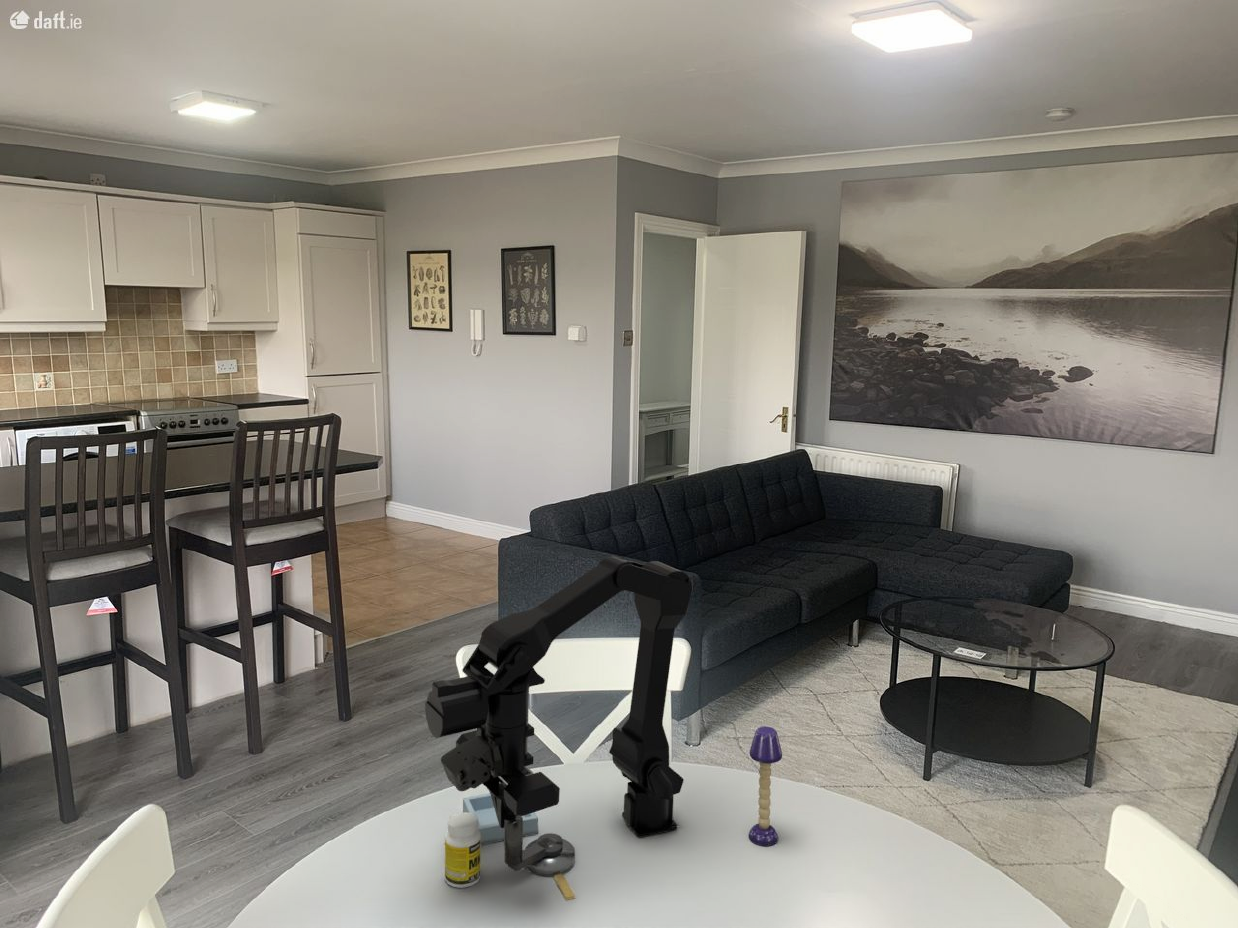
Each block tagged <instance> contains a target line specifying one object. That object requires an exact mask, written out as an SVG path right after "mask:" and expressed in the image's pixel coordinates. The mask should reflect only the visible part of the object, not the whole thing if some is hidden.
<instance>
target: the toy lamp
mask: <svg viewBox="0 0 1238 928" xmlns="http://www.w3.org/2000/svg"><path fill="white" fill-rule="evenodd" d="M749 757H750V758H751V759H752V760H753V761H755V762H758V763H759V766H760V767H759V769H758V774H759V779H758V784H759V788H758V795H759V797H758V801H757V802H758V806H759V807H758V811H757V812H758V816H759V817H758V823H756V824H754V825H753V826H752V827H751V828H750V830H749V834H748V839H749V840H750V842H752V844H755V845H758V846H760V847H768V846H773V845H775V844H777V843H778V841H779V836H778V833H777V830H776V829H775V827H773V826H772V825H771V818H770V816H771V808H770V807H771V798H770V797H771V794H772V793H771V784H772V783H771V782H772V781H771V780H772V779H771V776H772V775H771V774H772V769H771V767H772V764H776V763H777V762H779V761H781V760H782V758H783V752H782V747H781V744H780V738H779V735H778V732H777V730H776V729H775V728H774V727H771V726H764V725H763V726H759V727H758V728H757V729H756V730H755V732H754V736H753V738H752V743H751V746H750V749H749Z"/></svg>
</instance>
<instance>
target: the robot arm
mask: <svg viewBox="0 0 1238 928" xmlns="http://www.w3.org/2000/svg"><path fill="white" fill-rule="evenodd" d="M623 591H627V592H630V593H633V594H634V595H633V597H634V599H633V600H634V604H635V607H636V612H637V615H638V617H639V621H640V629H639V638H638V646H637V653H636V654H637V655H636V662H635V670H634V676H633V677H634V678H633V685H632V693H631V701H630V711H629V716H628V718H627V720H626V721H625V722H624V724H623V725H622V726H621V727H613V729H612V732H611V733H612V743H611V747H610V749H609V751H608V754H610V755H611V756H612V763H613V764H614V766H615V767H616V768H617V769H618V770H619V771H620V772H621V775H622V777H624V778H626V779H627V780H628V782H627V789H626V790H627V793H624V795H623V811H622V812H621V814H622V815H621V816H622V817H623V820H624V821H625V823H626V824H627V825H628V826H629V828H631V830H632V832H633V833H634V834H635V835H636V837H638V838H642V837H647V836H652V835H657V834H662V833H667V832H670V831H675V830H677V829H678V824H677V823H676V821H675V820H674V819H673V818H674V797H675V795H678V794H680V793H681V790H682V786H683V785H684V781H685V779H684V778H683V777H682V776H681V775H680V774H678V773H677V772H676V771H675V770H674V769H672V767H670V745H669V742H668V738H667V735H666V731H665V728H664V725H663V720H664V713H665V706H666V698H667V693H668V692H667V691H668V683H669V675H670V666H671V659H672V651H673V644H674V639H675V638H674V637H675V632H676V631H675V630H676V628H677V627H678V625H680V623H681V622H682V620H683V619H684V617H685V616H686V615H687V613H688V611H689V605H690V602H691V598H692V595H693V580H692V579H690V577H689V575H688V574H687V573H686V572H684V571H682V570H679V569H677V568H675V567H672V566H670V565H668V564H665V563H663V562H660V561H658V560H657V561H656V560H653V561H652V560H651V561H648V562H646V563H644V564H642V563H639V562H636V561H632V560H626V559H622V558H619V557H617V556H616V555H615V556H614V555H609V556H607V557H603V559H601V560H600V562H599V563H598V565H596V566H595V567H593V568H592V569H590V570H589V571H588V572H585V574H583V575H581V576H580V577H578V578H577V579H575V580H574V581H573V582H571V583H570V584H568V585H566V586H565V587H564V588H562V589H561V590H559V591H558V592H556V593H555V594H554V595H551V596H550V597H549V598H548V599H546V600H545V601H543V602H541V603H540V604H538V605H537V606H535V607H533V608H531V609H528V610H525V611H519V612H515V613H514V612H513V613H512V614H509V615H506V616H504V617H502V618H500V619H498V620H494V621H493V622H492V623H489V625H487V626H486V627H485V628H484V629H483V631H482V632H481V634H480V635H481V637H480V639H479V643H478V644H477V646H476V647H475V649H474V650H473V652H472V654H471V656H470V657H469V658H468V660H467V662H466V663H465V665H463V668H462V669H461V670H462V672H463V674H465V675H466V676H463V677H459V678H453V679H449V680H444V679H442V680H438V681H437V680H435V681H433V683H432V684H431V688H432V689H431V691H430V692H428V695H427V698H426V701H425V702H424V712H425V719H426V722H427V726H428V729H429V731H430V733H431V735H432V736H433V737H434V738H436V739H438V738H442V737H443V738H444V737H446V736H451V735H455V734H458V733H459V734H460V733H461V735H460V736H459V737H458V738H457V740H456V741H455V747H454V748H452V749H451V750H449V751H448V752H446V753H444V754H443V755H442V756H441V758H440V762H441V765H442V768H443V770H444V772H445V775H446V777H447V780H448V781H449V782H451V783H452V785H453V786H454V787H455V788H456V790H457V791H458V792H465V791H466V792H467V790H469V789H477V788H478V787H479V786H481V785H483V786H485V787H486V788H487V790H488V792H489V793H490V795H491V798H492V801H493V805H494V808H495V812H496V815H497V819H498V822H499V826H500V827H501V828H504V827H505V818H506V817H507V816H509V815H513V814H516V815H518V816H524V815H527V814H530V813H534V812H535V813H536V812H540V811H542V810H545V809H548V808H551V807H552V808H553V807H555V806H557V805H558V804H559V802H560V793H561V791H560V787H559V786H558V784H556V783H554V782H553V780H552V779H550V777H548V776H546V775H545V774H544V773H543V772H542V771H537V772H533V770H532V769H530V768H529V767H528V766H532V765H534V756H533V755H532V754H531V753H530V752H529V751H528V750H529V749H528V745H529V741H528V739H529V738H530V737H532V736H535V727H534V726H533V725H531V724H530V723H529V711H530V710H529V705H530V687H534V686H540V685H542V684H545V682H546V680H545V678H544V677H542V676H541V675H540V674H539V673H538V672H537V671H536V670H535V666H536V665H537V664H538V663H539V662H540V661H541V660H542V659H543V658H544V657H545V656H546V655H547V653H548V651H549V649H550V647H551V645H552V643H553V642H554V641H555V640H556V639H557V638H559V636H560V635H561V634H563V633H565V632H566V631H568V630H569V629H570V628H572V627H573V626H575V625H576V624H577V623H579V622H580V621H582V620H583V619H585V618H586V617H587V616H589V615H590V614H592V613H593V612H594V611H596V610H598V609H599V608H600V607H602V606H603V605H604V604H606V603H608V601H610V600H612V599H613V598H614V597H616V596H618V595H619V594H620V593H621V592H623ZM488 664H490V665H491V666H492V667H494V669H496V672H495V673H493V672H492V671H490V670H489V669H488V668H487V667H486V666H487V665H488ZM463 732H464V733H463Z"/></svg>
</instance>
